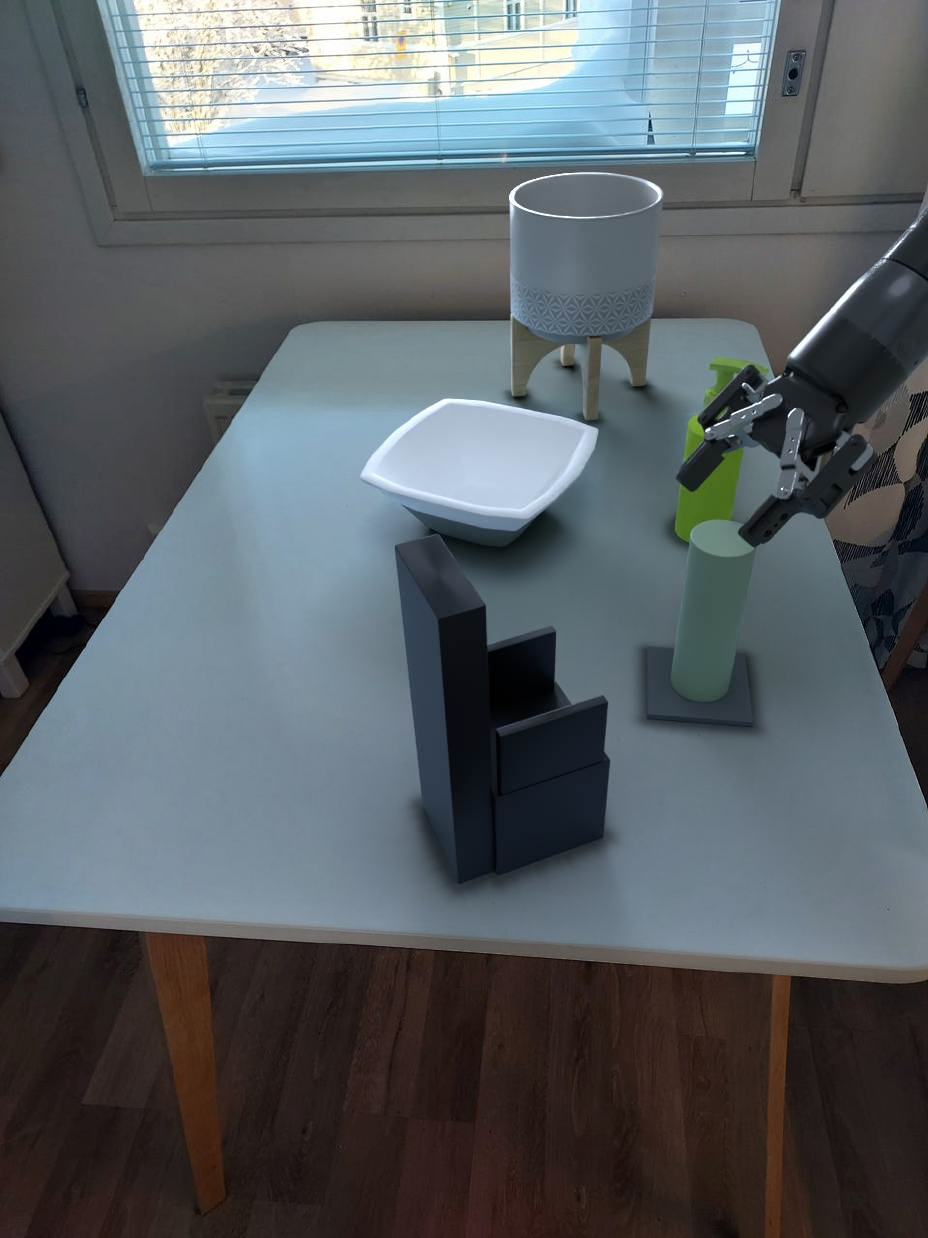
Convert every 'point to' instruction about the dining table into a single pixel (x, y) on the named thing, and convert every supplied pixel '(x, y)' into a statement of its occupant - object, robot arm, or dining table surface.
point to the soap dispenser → (722, 483)
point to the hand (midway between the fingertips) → (712, 512)
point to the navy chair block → (494, 727)
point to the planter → (583, 274)
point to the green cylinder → (711, 610)
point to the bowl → (480, 467)
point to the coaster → (675, 707)
